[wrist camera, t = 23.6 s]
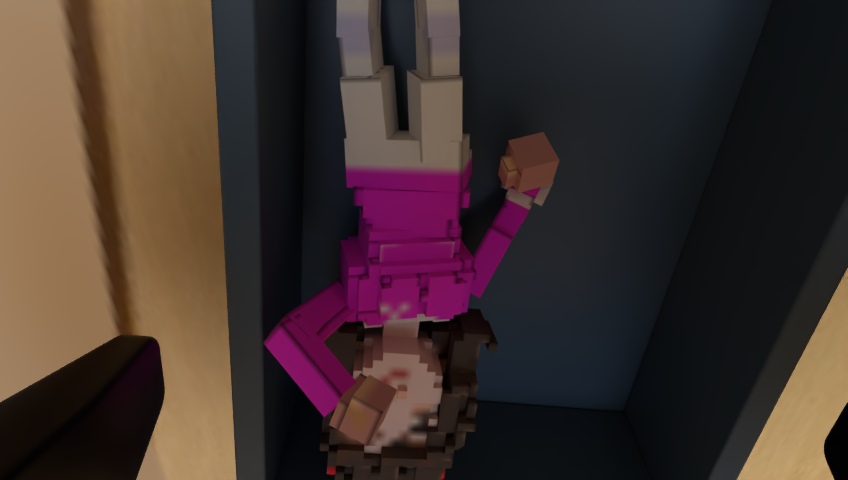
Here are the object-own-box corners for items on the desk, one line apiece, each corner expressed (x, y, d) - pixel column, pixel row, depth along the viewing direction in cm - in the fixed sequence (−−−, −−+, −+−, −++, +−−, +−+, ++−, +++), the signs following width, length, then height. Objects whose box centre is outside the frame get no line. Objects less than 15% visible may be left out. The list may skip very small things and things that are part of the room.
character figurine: (244, -116, 11) (299, 416, 15) (172, -197, 6) (281, 601, 11) (548, -109, 11) (512, 398, 16) (693, -178, 7) (582, 565, 11)
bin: (632, 415, 17) (695, 562, 13) (281, 387, 17) (238, 531, 13) (903, -309, 10) (1237, -470, 6) (280, -408, 9) (173, -665, 5)
